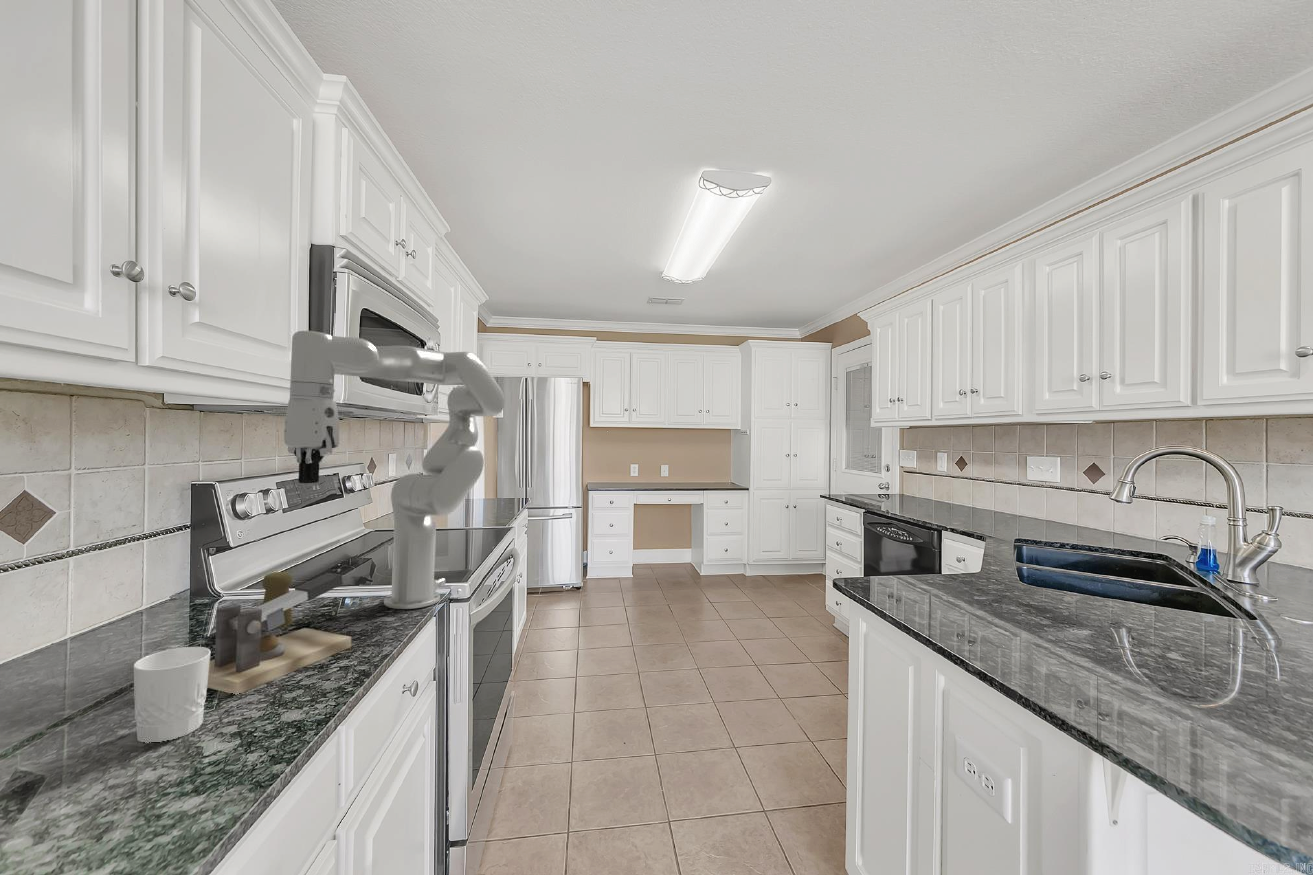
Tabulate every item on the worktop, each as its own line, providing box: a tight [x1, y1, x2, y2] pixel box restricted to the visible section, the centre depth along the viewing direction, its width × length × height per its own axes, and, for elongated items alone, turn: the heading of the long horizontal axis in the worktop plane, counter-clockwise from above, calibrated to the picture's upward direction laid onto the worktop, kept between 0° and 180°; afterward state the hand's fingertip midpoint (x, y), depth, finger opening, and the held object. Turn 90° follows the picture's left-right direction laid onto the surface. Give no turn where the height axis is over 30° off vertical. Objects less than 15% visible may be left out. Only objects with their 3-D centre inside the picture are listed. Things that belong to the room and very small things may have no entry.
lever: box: [229, 572, 344, 632], centre depth 98 cm, size 19×4×4 cm, turn 162°
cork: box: [262, 571, 294, 630], centre depth 114 cm, size 6×6×11 cm
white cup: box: [133, 646, 212, 744], centre depth 74 cm, size 8×8×10 cm
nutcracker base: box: [207, 603, 352, 696], centre depth 96 cm, size 21×12×12 cm, turn 162°
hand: (308, 482), depth 109 cm, fingers closed
